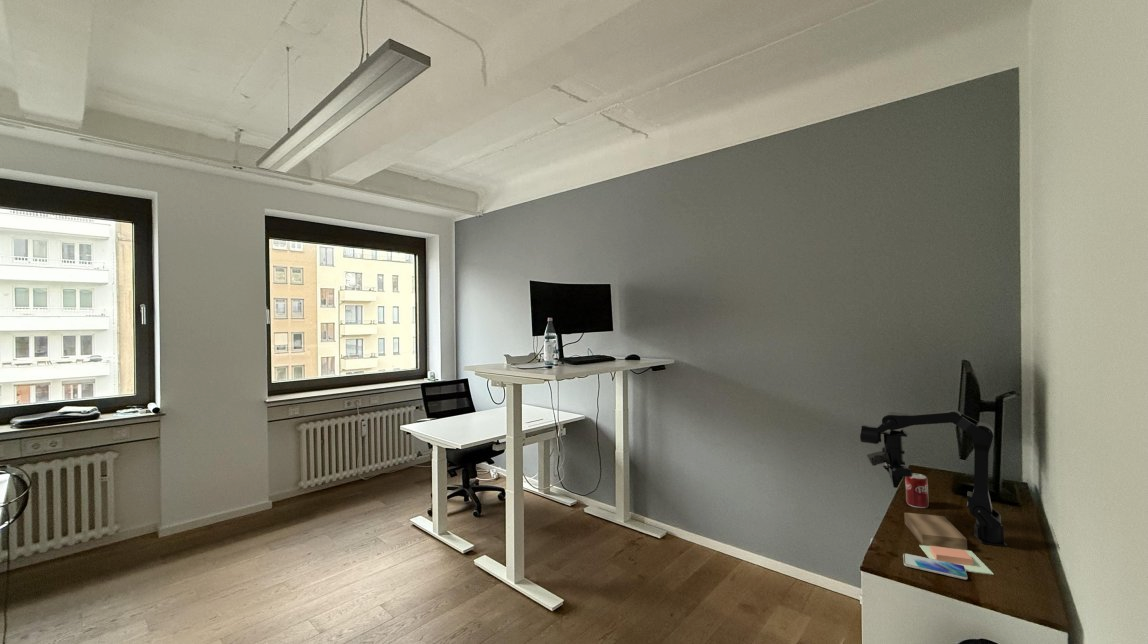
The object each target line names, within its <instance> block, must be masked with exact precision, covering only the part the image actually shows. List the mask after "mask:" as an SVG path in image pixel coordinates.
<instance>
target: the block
mask: <svg viewBox="0 0 1148 644" xmlns="http://www.w3.org/2000/svg"><path fill="white" fill-rule="evenodd" d="M930 552H931V554H932V555H933V556H934V558H935V559H936V560H940V561H945V562H949V563H956V564H963V565H970V566H973V559H972V558H971V557H970V556H969V555H968V553H967V552H966V551H965V550H961V549H953V548H945V547H937V546H930Z"/></svg>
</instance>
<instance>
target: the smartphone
mask: <svg viewBox="0 0 1148 644" xmlns="http://www.w3.org/2000/svg"><path fill="white" fill-rule="evenodd" d="M902 558H903V565H904V566H905V567H907V568H913V569H917V570H921V571H924V572H925V571H926V572H930V573H935V574H938V575H939V574H940V575H942V576H943V575H944V576H947V577H951V578H956V579H961V580H965V581H966V580H968V574H967V571H966V570H965V567H964V566H963V565H959V564H954V563H949V562H945V561H940V560H935V559H930V558H928V557H924V556H920V555H916V554H910V553H906V552H905V553H903V554H902Z"/></svg>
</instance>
